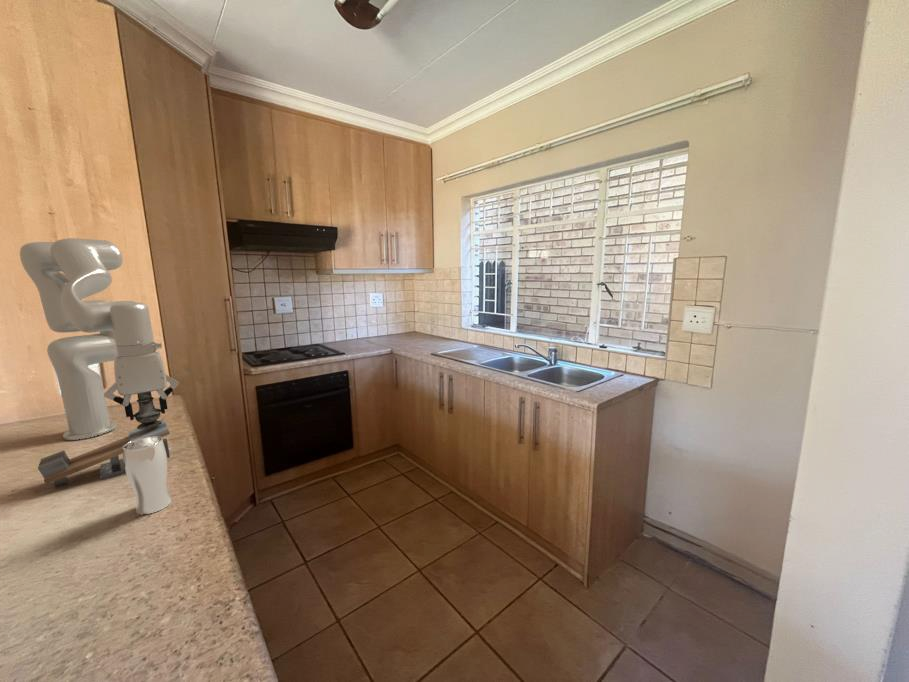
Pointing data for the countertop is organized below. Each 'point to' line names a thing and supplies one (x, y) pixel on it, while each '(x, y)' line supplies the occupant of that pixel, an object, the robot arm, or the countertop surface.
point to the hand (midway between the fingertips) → (147, 414)
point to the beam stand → (109, 468)
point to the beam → (92, 455)
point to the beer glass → (147, 473)
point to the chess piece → (147, 412)
